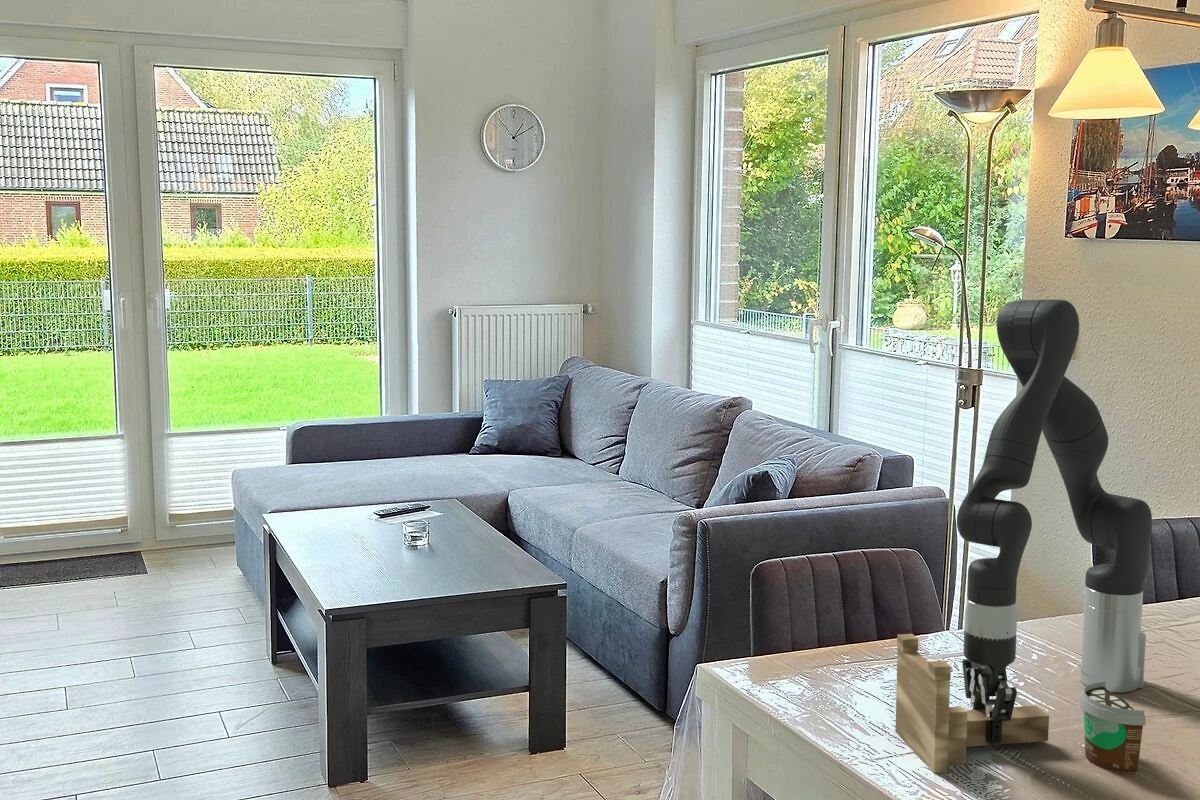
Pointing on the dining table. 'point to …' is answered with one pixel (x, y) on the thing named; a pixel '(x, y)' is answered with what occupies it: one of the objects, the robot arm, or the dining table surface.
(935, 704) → the wooden post stand
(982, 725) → the rail
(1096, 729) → the food container
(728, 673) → the dining table surface
